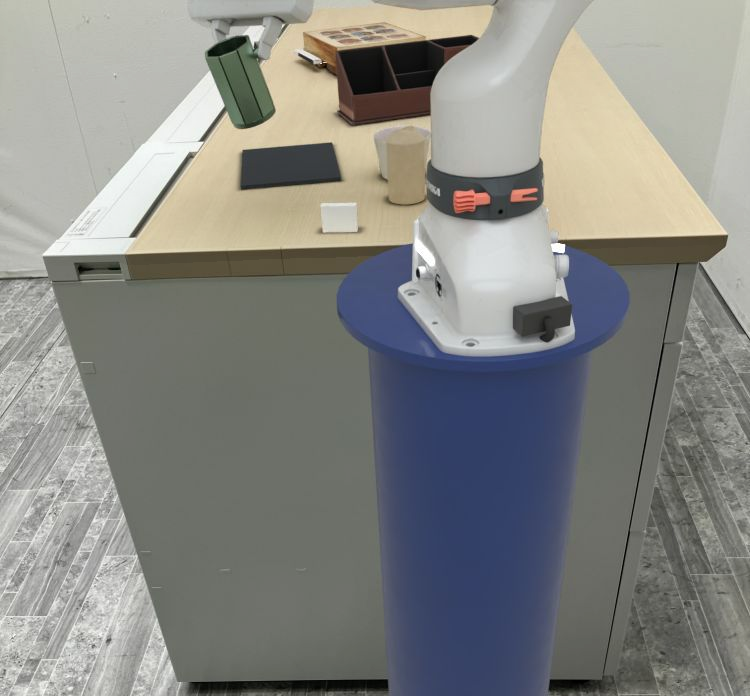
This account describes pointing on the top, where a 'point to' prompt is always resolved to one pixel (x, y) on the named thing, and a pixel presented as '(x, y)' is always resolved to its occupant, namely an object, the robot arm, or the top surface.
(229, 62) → the bucket
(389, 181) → the candle
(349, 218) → the eraser
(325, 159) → the mat
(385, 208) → the top surface
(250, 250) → the top surface
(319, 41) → the wooden box
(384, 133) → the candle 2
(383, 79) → the desk organizer
